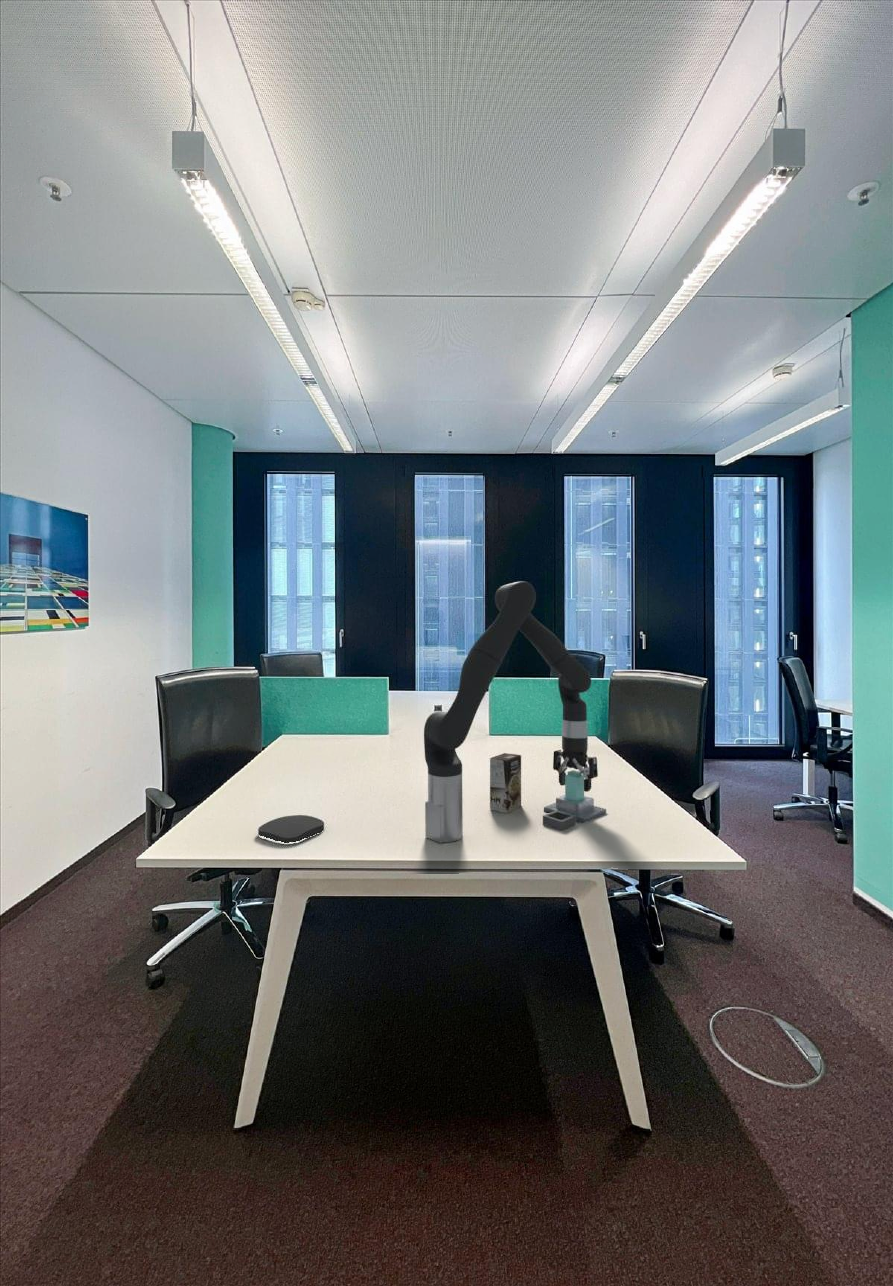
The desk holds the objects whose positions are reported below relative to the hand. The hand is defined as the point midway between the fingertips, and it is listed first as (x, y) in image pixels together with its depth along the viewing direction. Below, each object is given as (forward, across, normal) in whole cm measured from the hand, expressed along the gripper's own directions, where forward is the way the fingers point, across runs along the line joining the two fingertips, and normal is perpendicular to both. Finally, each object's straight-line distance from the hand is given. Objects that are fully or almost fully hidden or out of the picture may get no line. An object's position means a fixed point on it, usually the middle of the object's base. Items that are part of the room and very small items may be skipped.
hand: (574, 788), depth 162 cm
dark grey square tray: (+7, +3, -12) cm, 14 cm away
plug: (+6, 0, 0) cm, 6 cm away
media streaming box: (+8, -44, -70) cm, 83 cm away
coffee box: (+8, -17, -12) cm, 22 cm away
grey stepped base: (+7, 0, 0) cm, 7 cm away
